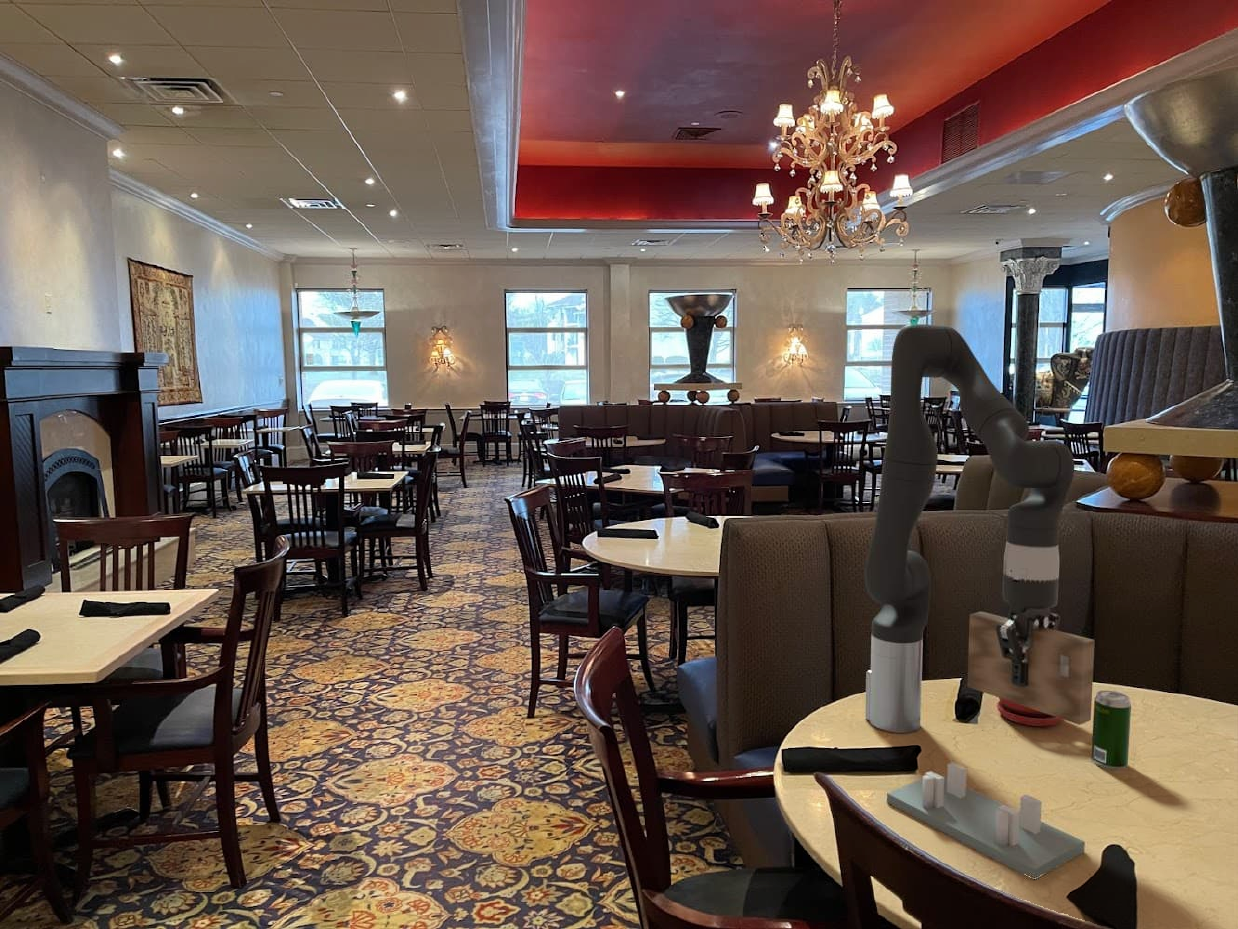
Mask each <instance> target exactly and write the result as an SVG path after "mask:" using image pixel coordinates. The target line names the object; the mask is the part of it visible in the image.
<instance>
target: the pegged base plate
mask: <svg viewBox="0 0 1238 929" xmlns="http://www.w3.org/2000/svg"><path fill="white" fill-rule="evenodd" d="M946 776H947V777H946ZM946 776H944V775H942V774H939V773H938V772H937V773H936V772H933V771H927V772H925V774H924V775H923V776H922V778H921V779H918V780H917V781H914V782H911V783H910V784H905V786H904V785H903V786H901V787H898V788H897V789H894V790H892V791H890V792H887V793H886V803H887V804H890V805H891V806H893V807H895V808H896V809H899V810H901V811H903V812H904V813H906V814H908V815H910V816H912V817H914V818H916V819H918V820H919V821H922V822H923V823H925V824H927V825H929V826H930V827H933V828H934V829H936V830H939V831H940V832H942V833H944V834H946V835H948V836H950V837H952V838H953V839H956V840H957V841H959V842H961V843H963V844H965V845H967V846H969V847H970V848H973V849H974V850H977V851H978V852H980V853H983V854H984V855H986V856H987V857H990V858H991V859H993V860H995V861H997V862H999V863H1001V864H1003V865H1004V866H1007V867H1008V868H1011V869H1012V870H1014V871H1016V872H1018V873H1020V874H1022V875H1024V874H1026V875H1027V876H1030V877H1031V878H1034V879H1035V878H1037V877H1039V876H1040V875H1042V874H1044V875H1046V874H1048V873H1049V871H1050V870H1051V871H1053V870H1055V869H1056V867H1057V866H1058V867H1060V866H1062V865H1063V864H1062V863H1064V862H1065V863H1067V862H1069V861H1071V860H1072V859H1074V858H1076V857H1078V856H1079V855H1081V854H1083V853H1084V852H1085V846H1086V844H1085V843H1086V842H1085V840H1083V839H1080V838H1077V837H1076V836H1074V835H1071V834H1069V833H1067V832H1065V831H1063V830H1061V829H1059V828H1056V827H1054V826H1052V825H1050V824H1047V823H1045V822H1043V821H1041V820H1042V804H1043V803H1042V802H1043V801H1042V800H1039V799H1037V798H1036V797H1032V796H1031V795H1029V794H1024V795H1021V796H1020V801H1019V802H1020V804H1019V805H1020V806H1019V807H1020V808H1019V810H1020V811H1019V810H1017V809H1015V808H1013V807H1011V806H1008V805H1006V804H1005V803H1002V802H1000V801H998V800H996V799H993V798H992V797H990V796H987V795H985V794H983V793H981V792H978V791H976V790H974V789H971V788H969V787H968V786H966V785H967V767H964V766H962V765H960V764H958V763H955V762H953V761H952V762H950V763H948V764H947V775H946ZM1066 861H1067V862H1066ZM1065 863H1064V864H1065ZM1061 864H1062V865H1061ZM1059 865H1060V866H1059ZM1058 867H1057V868H1058ZM1054 868H1055V869H1054ZM1052 869H1053V870H1052ZM1051 871H1050V872H1051ZM1047 872H1048V873H1047ZM1045 873H1046V874H1045ZM1027 876H1026V877H1027ZM1031 878H1030V879H1031ZM1039 878H1040V877H1039ZM1037 879H1038V878H1037Z"/></svg>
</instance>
